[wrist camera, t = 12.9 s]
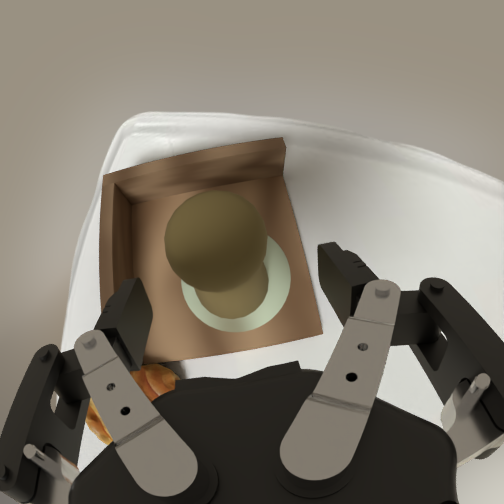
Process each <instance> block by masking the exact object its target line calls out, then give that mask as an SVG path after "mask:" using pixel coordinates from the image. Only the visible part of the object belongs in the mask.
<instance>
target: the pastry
mask: <svg viewBox="0 0 504 504" xmlns="http://www.w3.org/2000/svg"><path fill="white" fill-rule="evenodd" d="M130 375H131V376H132V378H133V379H134V380H135V382H136V383H137V385H138V386H139V387H140V389H141V390H142V391H143V393H144V394H145V395H146V397H147V398H148V399H149V401H150V402H152V401H153V400H154V399H155V398H157V397H159V396H160V395H162V394H164V393H166V392H168V391H171V390H174V389H175V380H181V379H180V378H179V377H178V376H177V375H176V374H175V373H174V372H173V371H172V370H171V369H169V368H166V367H164V366H162V365H160V364H157V363H154V364H148V365H141V370H140V371H130ZM85 421H86V423H87V425H88V427H89V429H90V430H91V431H92V432H93V433H94V434H96V436H97V437H98V438H99V439H100V440H101V441H102V442H104V443H105V444H107V445H109V444H110V443H111V442H112V441H113V439H112V437H111V436H110V434H109V432H108V430H107V428H106V426H105V425H104V423H103V421H102V419H101V417H100V415H99V413H98V411H97V409H96V407H95V405H94V403H93V401H92V398H90V403H89V407H88V411H87V416H86V420H85Z"/></svg>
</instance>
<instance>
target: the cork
mask: <svg viewBox="0 0 504 504" xmlns="http://www.w3.org/2000/svg"><path fill="white" fill-rule="evenodd" d="M267 239H268V235H267V231H266V227H265V223H264V220H263V219H262V217H261V215H260V214H259V212H258V211H257V209H256V208H255V206H254V205H253V204H251V203H250V202H249V201H248V200H246V199H245V198H244V197H243V196H240V195H237V194H235V193H232V192H229V191H218V190H211V191H206V192H201V193H198V194H196V195H194V196H192V197H190V198H188V199H187V200H185V201H184V202H183V203H182V204H181V205H180V206H179V207H178V208H177V209H176V210H175V211H174V213H173V214H172V216H171V218H170V220H169V221H168V223H167V227H166V231H165V236H164V243H165V252H166V257H167V259H168V262H169V264H170V266H171V268H172V270H173V271H174V272H175V273H176V274H177V275H178V276H179V277H180V278H181V279H182V280H183V281H184V282H185V283H186V284H187V285H189V286H191V287H194V289H195V292H196V295H197V297H198V299H199V301H200V302H201V304H202V306H203V307H205V308H206V309H207V310H208V311H209V312H210V313H212V314H214V315H216V316H218V317H220V318H226V319H237V318H242V317H245V316H247V315H249V314H251V313H252V312H254V311H255V310H256V309H257V308H258V307H259V306H260V305H261V304H262V303H263V301H264V299H265V297H266V294H267V292H268V283H269V279H268V274H267V270H266V267H265V265H264V262H263V260H264V258H265V256H266V249H267Z"/></svg>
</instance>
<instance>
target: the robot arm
mask: <svg viewBox="0 0 504 504" xmlns="http://www.w3.org/2000/svg"><path fill="white" fill-rule="evenodd" d="M317 250H318V275H319V282H320V285H321V288H322V290H323V292H324V293H325V295H326V297H327V299H328V300H329V302H330V304H331V306H332V307H333V309H334V311H335V313H336V314H337V316H338V318H339V320H340V322H341V323H342V325H343V327H344V329H343V331H342V333H341V336H340V338H339V340H338V342H337V345H336V347H335V349H334V351H333V353H332V355H331V358H330V360H329V362H328V364H327V366H326V368H325V370H324V372H323V371H318V370H311V369H301V368H300V365H299V362H298V361H294V362H289V363H284V364H280V365H275V366H270V367H266V368H264V369H261V370H259V371H256V372H253V373H251V374H248V375H246V376H243V377H240V378H237V379H227V378H211V377H200V378H192V379H182V380H175V389H174V390H171V391H168V392H166V393H164V394H162V395H160V396H159V397H157V398H155V399H154V400H153V401H152V402H150V401H149V399H148V398H147V397H146V395H145V394H144V393H143V391H142V390H141V389H140V387H139V386H138V385H137V383H136V382H135V380H134V379H133V378H132V376H131V375H130V371H140V370H141V365H142V361H143V356H144V352H145V348H146V344H147V339H148V335H149V331H150V327H151V324H152V320H153V310H152V306H151V303H150V301H149V298H148V296H147V293H146V291H145V288H144V285H143V283H142V281H141V279H140V278H139V277H137V278H132V279H126V280H123V282H122V284H121V286H120V288H119V290H118V292H115V293H114V294H113V295H112V296H111V297H110V298H109V299H108V301H107V303H106V305H105V308H104V309H103V311H102V313H101V315H100V317H99V319H98V321H97V323H96V325H95V328H94V330H91V331H88V332H86V333H84V334H82V335H81V336H80V337H79V338H78V339H77V340H76V342H75V345H74V349H71V350H68V351H65V352H62V353H61V352H60V350H59V349H58V347H57V346H56V345H54V344H49V345H46V346H44V347H42V348H41V349H39V350H38V351H37V352H36V353H35V355H34V357H33V359H32V361H31V363H30V365H29V367H28V369H27V371H26V373H25V376H24V378H23V380H22V382H21V385H20V387H19V389H18V392H17V394H16V397H15V399H14V401H13V404H12V406H11V409H10V412H9V415H8V417H7V420H6V422H5V425H4V428H3V431H2V434H1V438H0V491H2V492H3V493H4V494H6V495H8V496H10V497H11V498H13V499H14V500H15V501H16V502H18V503H19V504H459V502H458V498H457V492H456V470H457V468H458V467H460V466H462V465H464V464H465V463H467V462H469V461H470V460H472V459H474V458H475V459H484V458H487V457H489V456H490V455H491V454H492V453H493V452H494V451H495V450H497V449H498V448H499V447H500V446H501V445H502V444H503V443H504V342H503V341H502V340H501V339H500V337H499V336H498V335H497V334H496V333H495V332H494V330H493V329H492V328H491V327H490V326H489V325H488V324H487V322H486V321H485V320H484V319H483V318H482V317H481V316H480V315H479V314H478V313H477V311H476V310H475V309H474V308H473V307H472V306H471V305H470V304H469V303H468V302H467V301H466V300H465V299H464V298H463V297H462V296H461V295H460V294H459V293H458V292H457V291H456V289H455V288H454V287H453V286H452V285H451V284H449V283H448V282H447V281H445V280H443V279H440V278H426V279H424V280H423V281H422V282H421V283H420V287H419V290H416V291H401V290H400V288H399V286H398V285H397V284H395V283H394V282H391V281H388V280H380V279H379V278H378V277H377V276H376V275H375V274H374V273H373V272H372V271H371V270H370V268H369V267H368V266H366V264H365V263H364V262H363V261H362V260H361V259H360V258H359V257H358V255H357V254H355V253H353V252H351V251H348V250H345V251H343V250H342V249H341V248H340V247H339V246H338V245H337V243H336V242H330V243H324V244H319V245H318V249H317ZM441 331H442V332H443V333H444V334H445V336H446V338H447V340H446V339H445V337H444V336H443V335H442V333H441ZM398 345H409V346H410V348H411V349H412V351H413V353H414V354H415V356H416V358H417V359H418V361H419V363H420V364H421V366H422V368H423V369H424V371H425V373H426V374H427V376H428V378H429V380H430V381H431V383H432V385H433V387H434V388H435V390H436V392H437V394H438V396H439V397H440V399H441V401H442V403H443V405H444V407H443V409H442V412H441V422H442V425H443V429H442V428H440V427H439V426H437V425H435V424H433V423H431V422H429V421H426V420H424V419H422V418H420V417H417V416H415V415H413V414H411V413H409V412H407V411H404V410H402V409H400V408H398V407H396V406H394V405H392V404H390V403H388V402H385V401H383V400H381V399H379V398H377V397H376V395H377V392H378V388H379V385H380V382H381V378H382V375H383V371H384V368H385V364H386V360H387V356H388V352H389V348H390V346H398ZM53 391H55V392H56V393H57V395H58V396H59V400H58V403H57V407H56V410H55V413H53V411H52V409H51V406H50V400H51V397H52V394H53ZM90 398H92V401H93V403H94V405H95V407H96V409H97V411H98V413H99V415H100V417H101V419H102V421H103V423H104V425H105V426H106V428H107V430H108V432H109V434H110V436H111V437H112V439H113V441H112V442H111V443H110V444H109V445H108V446H107V447H106V448H105V449H104V450H103V451H102V452H101V453H100V454H99V455H98V456H97V457H96V458H95V459H94V460H93V461H92V462H91V463H90V464H89V465H88V466H87V467H86V468H85V469H84V470H83V471H82V472H81V473H80V472H79V469H78V468H77V464H78V457H79V451H80V446H81V440H82V435H83V430H84V425H85V420H86V416H87V411H88V407H89V403H90Z"/></svg>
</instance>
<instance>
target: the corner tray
mask: <svg viewBox="0 0 504 504" xmlns="http://www.w3.org/2000/svg"><path fill="white" fill-rule="evenodd" d="M285 152H286V146H285V143H284V140H283V137H281V138H273V139H266V140H258V141H252V142H245V143H239V144H233V145H227V146H221V147H216V148H211V149H206V150H201V151H196V152H191V153H186V154H182V155H177V156H173V157H168V158H164V159H160V160H156V161H152V162H148V163H144V164H141V165H137V166H133V167H130V168H126V169H122V170H119V171H116V172H112V173H109V174H106V175H103V184H102V195H101V210H100V233H99V277H100V300H101V313H102V311H103V309H104V308H105V305H106V303H107V301H108V299H109V298H110V297H111V296H112V295H113V294H114V293H115V292H118V290H119V288H120V286H121V284H122V282H123V280H126V279H132V278H137V277H139V278H140V279H141V281H142V283H143V285H144V288H145V291H146V293H147V296H148V298H149V301H150V303H151V306H152V310H153V320H152V324H151V327H150V331H149V335H148V339H147V344H146V348H145V352H144V356H143V361H142V364H150V363H161V362H170V361H179V360H187V359H194V358H202V357H209V356H215V355H222V354H228V353H234V352H240V351H246V350H251V349H257V348H262V347H267V346H272V345H277V344H282V343H286V342H291V341H295V340H300V339H304V338H308V337H313V336H317V335H321V334H323V331H322V326H321V322H320V317H319V313H318V308H317V304H316V300H315V296H314V291H313V287H312V283H311V279H310V275H309V271H308V267H307V263H306V259H305V255H304V251H303V247H302V243H301V240H300V236H299V232H298V228H297V225H296V221H295V217H294V214H293V210H292V207H291V203H290V199H289V196H288V192H287V189H286V186H285V182H284V179H283V168H284V160H285ZM211 190H218V191H229V192H232V193H235V194H237V195H240V196H243V197H244V198H245V199H246V200H248V201H249V202H250V203H251V204H253V205H254V206H255V208H256V209H257V211H258V212H259V214H260V215H261V217H262V219H263V220H264V223H265V227H266V231H267V235H268V239H267V249H266V256H265V258H264V260H263V262H264V265H265V267H266V270H267V274H268V279H269V283H268V292H267V294H266V297H265V299H264V301H263V303H262V304H261V305H260V306H259V307H258V308H257V309H256V310H255V311H254V312H252V313H251V314H249V315H247V316H245V317H242V318H237V319H226V318H220V317H218V316H216V315H214V314H212V313H210V312H209V311H208V310H207V309H206V308H205V307H203V306H202V304H201V302H200V301H199V299H198V297H197V295H196V292H195V289H194V287H191V286H189V285H187V284H186V283H185V282H184V281H183V280H182V279H181V278H180V277H179V276H178V275H177V274H176V273H175V272H174V271H173V270H172V268H171V266H170V264H169V262H168V259H167V257H166V252H165V243H164V236H165V231H166V227H167V223H168V221H169V220H170V218H171V216H172V214H173V213H174V211H175V210H176V209H177V208H178V207H179V206H180V205H181V204H182V203H183V202H184V201H185V200H187V199H188V198H190V197H192V196H194V195H196V194H198V193H201V192H206V191H211Z"/></svg>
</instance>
